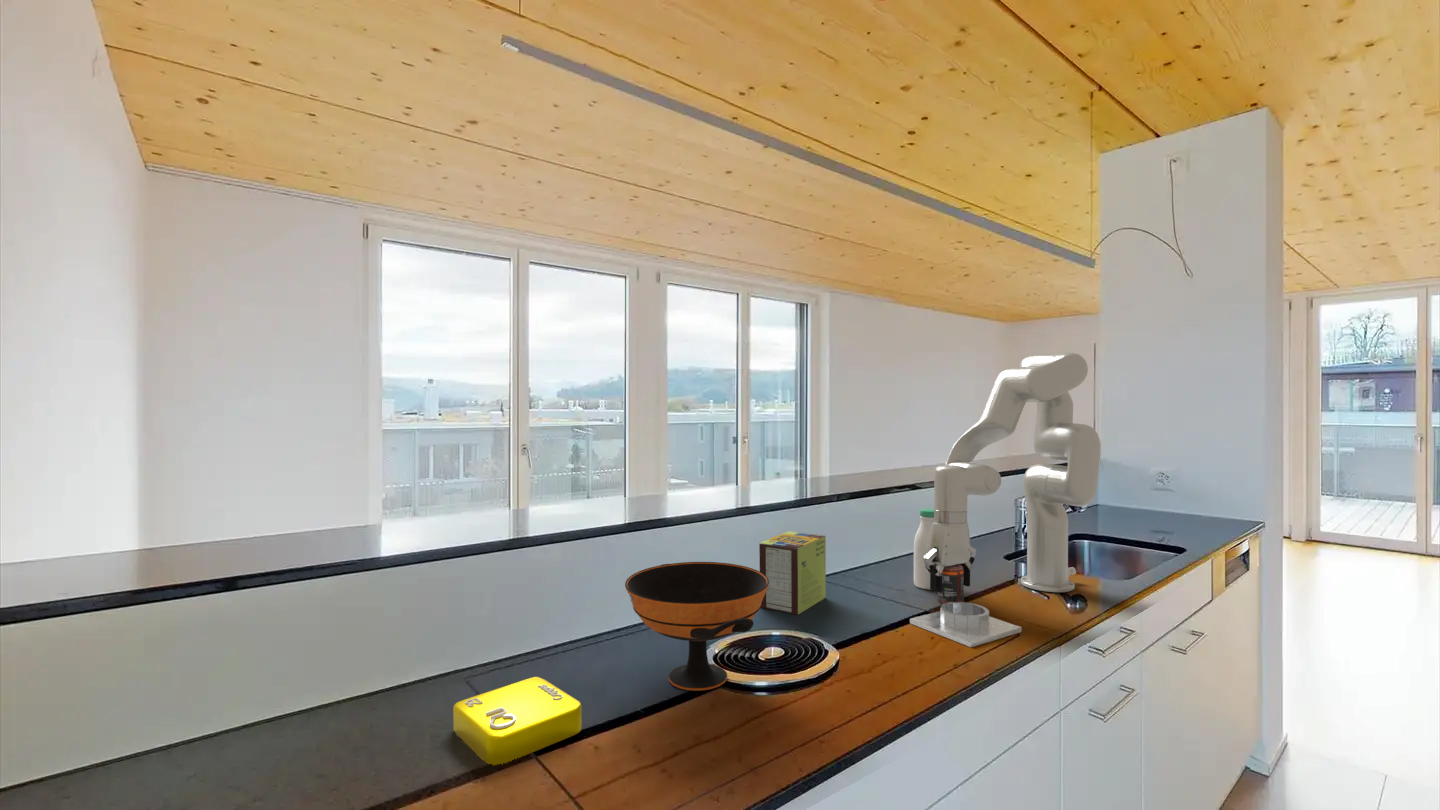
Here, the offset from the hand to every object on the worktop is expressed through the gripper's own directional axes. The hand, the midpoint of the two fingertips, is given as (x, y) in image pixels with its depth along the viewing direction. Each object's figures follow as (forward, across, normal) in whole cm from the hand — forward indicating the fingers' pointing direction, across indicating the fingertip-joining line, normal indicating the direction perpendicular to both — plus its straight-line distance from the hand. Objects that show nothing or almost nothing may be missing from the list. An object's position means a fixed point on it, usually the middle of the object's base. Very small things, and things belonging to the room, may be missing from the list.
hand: (950, 588), depth 160 cm
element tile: (+5, +104, +6) cm, 104 cm away
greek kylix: (+4, +72, +5) cm, 72 cm away
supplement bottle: (+4, 0, 0) cm, 4 cm away
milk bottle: (+4, -6, -12) cm, 14 cm away
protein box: (+4, +32, -20) cm, 38 cm away
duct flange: (+4, +11, +13) cm, 17 cm away
